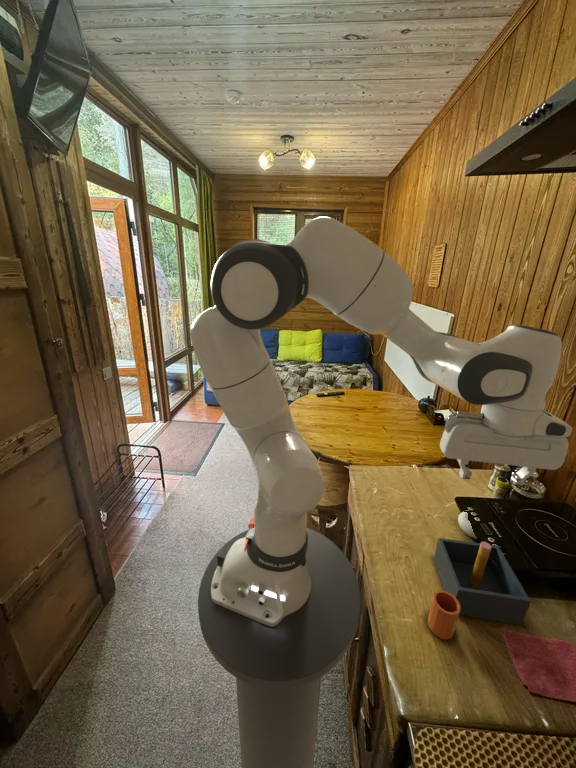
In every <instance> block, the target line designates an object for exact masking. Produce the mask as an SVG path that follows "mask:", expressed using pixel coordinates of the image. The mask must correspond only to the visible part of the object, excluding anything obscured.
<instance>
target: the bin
mask: <svg viewBox="0 0 576 768" xmlns="http://www.w3.org/2000/svg"><path fill="white" fill-rule="evenodd" d="M480 544H481V542H472V541H464V540H456V539H450V538H444V537H443V538H441V537H438V539H437V543H436V548H435V551H434V556H433V560H434V563H435V566H436V570H437V573H438V575H439V578H440V582H441V585H442V587H443V591H446V592H449V593H450V594H452V595H453V596H455V598H456V599H457V600H458V601H459V604H460V606H461V609H460V614H459V615H461V616H467V617H474V618H479V619H486V620H492V621H498V622H503V623H509V624H515V625H520V626H522V625H523V622H524V620H525V617H526V616H527V614H528V610H529V608H530V605H531V599H530V597H529V595H528V594H527V592H526V590H525V589H524V587H523V585H522V583H521V581H519V578H518V577H517V575H516V574H515V572H514V570H513V568H512V567H511V565H510V563H509V561H508V560H507V558H506V556H505V555H504V553H503V551H502V549H501V547H500V546H499V545H495V544H490V545H491V551H490V554H489V558H488V561H487V564H486V567H485V571H484V574H483V577H482V580H481V584H480V587H479V589H478V590H476V589H473V588H472V587H471V586H470V585H469V582H470V578H471V575H472V571H473V568H474V565H475V561H476V558H477V554H478V551H479V547H480ZM493 556H494V558H495V559H496V561H497V562H498V564H499V568H497V567H496V565H495V564H494V563H493V562H492V557H493Z"/></svg>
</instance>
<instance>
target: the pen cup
mask: <svg viewBox="0 0 576 768" xmlns="http://www.w3.org/2000/svg"><path fill="white" fill-rule="evenodd" d="M431 600H432V601H431V604H430V609H429V613H428V617H427V625H428V628H429V629H430V631H431V632H432V633H433V634H434V635H435V636H436V637H438V638H440V639H442V640H449V639H452V637H453V636H454V634H455V630H456V627H457V624H458V620H459V617H460V615H461V614H460V609H461V606H460V604H459V601H458V600H457V599H456V598H455V596H453V595H452V594H450V593H449V592H446V591H444V589H442V590H441V589H439V590H437V591H435V592H433V596H432V599H431Z"/></svg>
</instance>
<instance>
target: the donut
mask: <svg viewBox="0 0 576 768" xmlns="http://www.w3.org/2000/svg"><path fill="white" fill-rule="evenodd" d="M457 523H458V525H459V528H460V529H461V530H462V532H463V533H465V534H466V535H467V536H469V537H470V538H472V539H475V540H477V538H476V536H475V534H474V532H473V529H472V526H471V523H470V521H469V520H468V513H467V512H464V511H462V512H461V513H460V514H459V515H458V516H457Z"/></svg>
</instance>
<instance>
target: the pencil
mask: <svg viewBox="0 0 576 768" xmlns="http://www.w3.org/2000/svg"><path fill="white" fill-rule="evenodd" d="M491 545H492V544H490V543H489V542H488V541H480V547H479V551H478V554H477V558H476V561H475V565H474V568H473V571H472V575H471V578H470V582H469V585H470V586H471V587H472V588H473V589H476V590H478V589H479V587H480V584H481V580H482V577H483V574H484V571H485V567H486V564H487V561H488V558H489V554H490V551H491Z"/></svg>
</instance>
